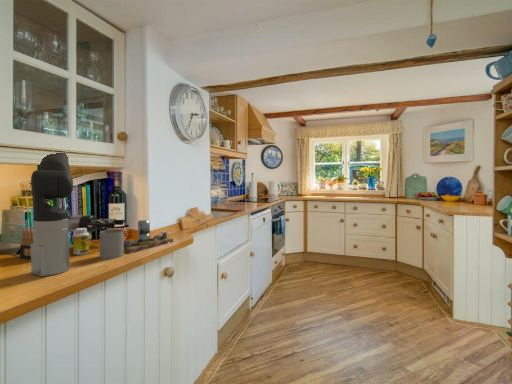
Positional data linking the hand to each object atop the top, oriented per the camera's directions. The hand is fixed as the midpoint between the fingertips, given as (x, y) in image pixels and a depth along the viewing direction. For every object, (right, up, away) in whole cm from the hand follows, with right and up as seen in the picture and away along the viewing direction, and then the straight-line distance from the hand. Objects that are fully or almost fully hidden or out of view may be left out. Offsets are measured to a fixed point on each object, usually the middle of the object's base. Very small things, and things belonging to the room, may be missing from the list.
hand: (119, 223), depth 123 cm
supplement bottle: (-9, -11, -13) cm, 19 cm away
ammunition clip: (-22, -11, -21) cm, 32 cm away
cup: (+5, -11, -16) cm, 20 cm away
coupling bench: (+12, -10, +1) cm, 16 cm away
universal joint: (+11, -9, +1) cm, 14 cm away
